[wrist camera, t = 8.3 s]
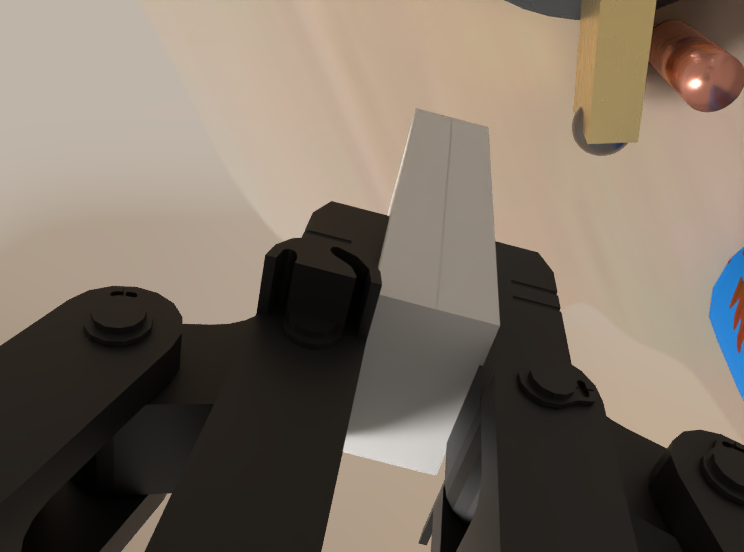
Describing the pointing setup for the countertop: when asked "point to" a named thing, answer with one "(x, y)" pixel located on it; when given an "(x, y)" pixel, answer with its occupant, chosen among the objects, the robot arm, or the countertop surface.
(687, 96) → the base
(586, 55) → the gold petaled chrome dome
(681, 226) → the countertop surface
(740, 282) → the thermos
